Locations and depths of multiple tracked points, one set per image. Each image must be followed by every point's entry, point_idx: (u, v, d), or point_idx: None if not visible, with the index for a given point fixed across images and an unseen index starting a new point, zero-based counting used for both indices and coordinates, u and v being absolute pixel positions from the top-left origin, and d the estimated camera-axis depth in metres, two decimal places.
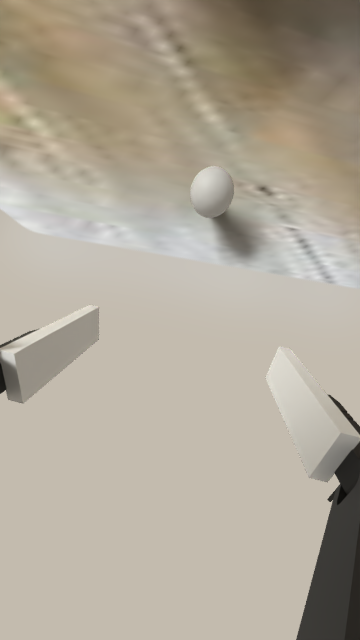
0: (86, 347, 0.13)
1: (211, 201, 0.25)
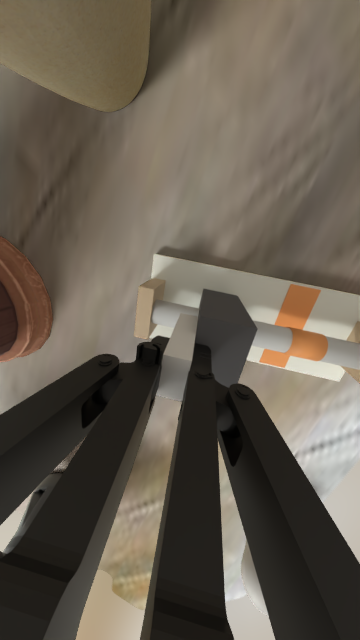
0: None
1: None
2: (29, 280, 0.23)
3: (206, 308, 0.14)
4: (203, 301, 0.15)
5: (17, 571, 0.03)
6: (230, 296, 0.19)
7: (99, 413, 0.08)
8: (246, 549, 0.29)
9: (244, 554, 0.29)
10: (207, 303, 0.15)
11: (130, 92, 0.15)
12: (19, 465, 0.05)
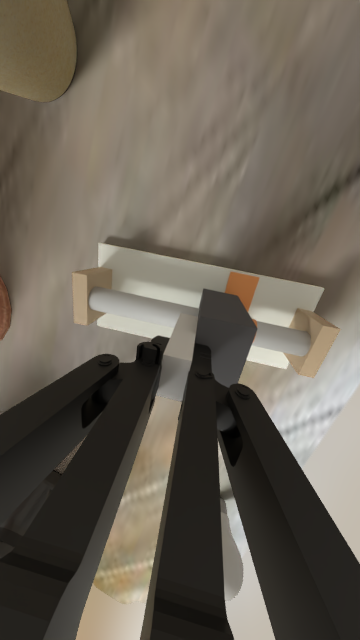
0: None
1: (234, 597, 0.25)
2: None
3: (206, 308, 0.14)
4: (203, 301, 0.15)
5: (17, 572, 0.03)
6: (230, 296, 0.19)
7: (99, 413, 0.08)
8: None
9: None
10: (207, 303, 0.15)
11: (58, 81, 0.16)
12: (19, 465, 0.05)
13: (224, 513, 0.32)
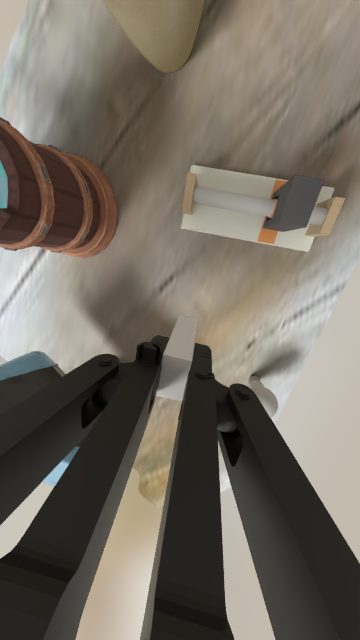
0: None
1: (272, 413, 0.37)
2: (107, 189, 0.36)
3: None
4: (285, 183, 0.27)
5: (17, 571, 0.03)
6: None
7: (99, 413, 0.08)
8: None
9: None
10: None
11: (184, 59, 0.28)
12: (19, 465, 0.05)
13: (259, 381, 0.44)
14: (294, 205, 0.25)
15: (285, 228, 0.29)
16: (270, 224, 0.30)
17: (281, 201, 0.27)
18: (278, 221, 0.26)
